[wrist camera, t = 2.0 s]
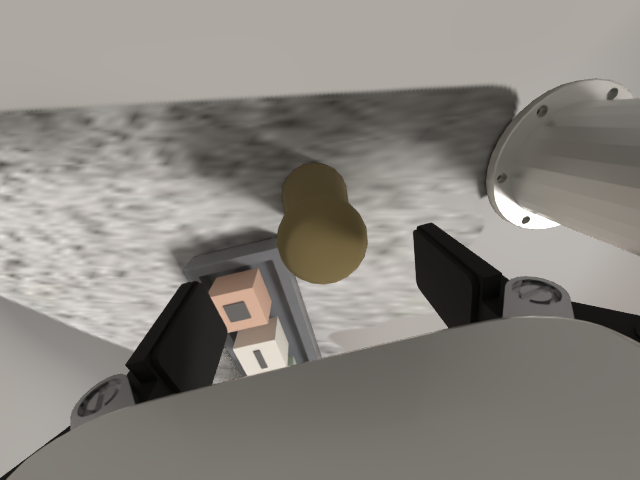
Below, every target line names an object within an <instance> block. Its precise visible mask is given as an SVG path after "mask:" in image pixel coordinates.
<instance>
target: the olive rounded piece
mask: <svg viewBox="0 0 640 480" xmlns="http://www.w3.org/2000/svg"><path fill="white" fill-rule="evenodd" d="M282 202H283V207H284V212H285V215H284V217H283V219H282V221H281V223H280V225H279V228H278V235H277V247H278V250H279V254H280V257H281V260H282V262H283V263H284V265H285V266H286V267H287V269H288V270H289V271H290V272H291V273H293V274H294V275H295V276H297V277H298V278H300V279H302V280H305V281H307V282H310V283H314V284H329V283H334V282H337V281H340V280H342V279H344V278H346V277H347V276H349V275H350V274H351V273H352V272H353V271H354V270H356V269H357V268H358V266H359V265H360V263H361V261H362V260H363V258H364V257H365V253H366V249H367V245H368V240H367V230H366V226H365V224H364V222H363V220H362V218H361V216H360V214H359V213H358V212H357V211H356V210H355V209H354V208H353V207H352V206H351V205H350V204H349V203H348V196H347V188H346V185H345V183H344V180H343V178H342V176H341V175H340V174H339V173H338V172H337V171H336V170H335V169H333V168H331V167H329V166H327V165H325V164H319V163H310V164H305V165H302V166H300V167H298V168H297V169H295V170H293V172H292V173H291V174H290V175H289V176H288V177H287V178H286V181H285V183H284V185H283V188H282Z"/></svg>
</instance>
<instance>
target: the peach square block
mask: <svg viewBox="0 0 640 480" xmlns="http://www.w3.org/2000/svg"><path fill="white" fill-rule="evenodd" d="M208 293H209V295H210V297H211V299H212V301H213V303H214V305H215V306H216V308H217V310H218V312H219V314H220V316H221V318H222V320H223V321H224V323H225V325H226V327H227V331H228V333H229V332H234V331H238V330H242V329H247V328H251V327H256V326H260V325H265V324H268V321H269V315H270V309H271V303H272V301H271V298H270V296H269V293H268V291H267V288H266V286H265V283H264V281H263V278H262V276H261V273H260V271H259V268H256V269H251V270H247V271H243V272H238V273H234V274H230V275H226V276H221V277H217V278H216V279H215V281H214V283H213V285H212V287H211V288H210V290H209V292H208Z"/></svg>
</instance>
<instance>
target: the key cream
mask: <svg viewBox="0 0 640 480" xmlns="http://www.w3.org/2000/svg"><path fill="white" fill-rule="evenodd" d="M288 345H289V344H288V341H287V339H286V336H285V334H284V331H283V328H282V326H281V323H280V321H279V318H278V317H273V318H269V321H268V324H265V325H260V326H256V327H251V328H247V329H242V330H238V333H237V336H236V340H235V343H234V346H233V351H234V353H235V354H236V356H237V358H238V360H239V362H240V363H241V365H242V367H243V369H244V371H245V373H246V374H247V376H250V375H254V374H258V373H262V372H266V371H270V370H274V369H279V368H283V367H287V362H288Z"/></svg>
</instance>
